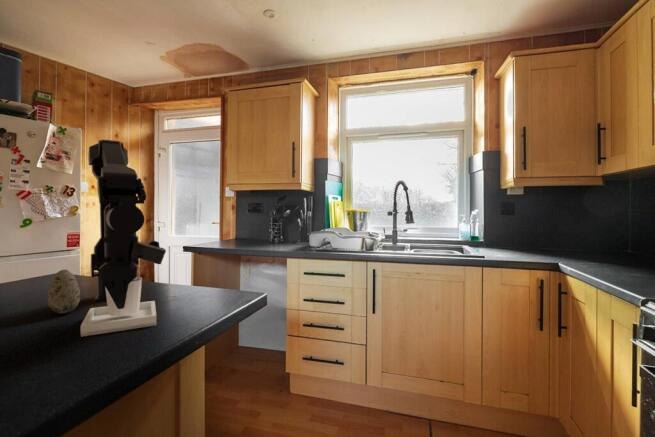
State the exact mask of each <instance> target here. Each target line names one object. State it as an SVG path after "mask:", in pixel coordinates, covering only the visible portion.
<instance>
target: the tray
mask: <svg viewBox="0 0 655 437" xmlns="http://www.w3.org/2000/svg"><path fill="white" fill-rule="evenodd" d="M156 310H157V309H156V302H155V300H151V301H150V300H149V301H142V302H141V301H140V306H139V311H138V312H136V313H133V314H129V315H123V316H111V315H109V313H108V305H106V306H98V307H91V308H89V310H88V312H87V314H86V315H85V318H84V319H83V321H82V323H81V325H80V337H88V336H95V335H101V334H108V333H114V332H120V331H127V330H134V329H139V328H147V327H153V326H157V311H156Z"/></svg>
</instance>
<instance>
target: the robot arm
mask: <svg viewBox="0 0 655 437" xmlns="http://www.w3.org/2000/svg"><path fill="white" fill-rule="evenodd" d="M87 153H88V155H87V156H88V160H87V161H88V166H91V173H92V175H93V176H94V178H95V179H96V180H97V181H96V182H97V196H98V197H97V198H98V203H99V223H100V224H99V226H100V227H99V228H100V238H99V239H98V240H97V242H96V243H95V245H94V247H93V253H91V254H90V276H91V278H96V280H97V282H96V283H97V286H96V287H97V294H96V295H95V298H94V302H97V301H107V297H106V289H107V290H108V292H109V294H110V296H111V297H112V299H113V301H114V303H115V305H116V307H117V308H118V309H123V308H124V306H125V301H126V295H127V290H128V285H129V283H130V282H131V281H133V280H134V279H135V278H136V277H138V269H139V265H140V264H139V263H140V260H143V261H149V262H152V263H153V264H155V265H162V261H163V260H164V257H165V254H166V252H167V250H166V248H163V247H160V242H159V241H157V240H151V241H150V242H148V243H146V242H142V241H139V236H137V232H138V231H139V230H141V229H142V228H143V226H144V223H145V215H144V213H143V211H142V210H141V208H139V207H138V206H137V205H138V204H140V205H142V204H143V205H144V204H145V202H146V201H147V194H146V190H145V185H144V183H143V181H142V179H141V178H140V177H139V176H138V173H137V172H136V170H135V169H133V168H131V167H129V166H128V164H129V158H128V156H129V154H128V153H129V152H128V149H127V148H125V147H124V143H123V142H122V141H120V140H110V139H99V140H98V142H97V143H96V144H93V145H90V146H89V147H88V152H87ZM105 287H106V289H105Z"/></svg>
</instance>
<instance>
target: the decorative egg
mask: <svg viewBox="0 0 655 437" xmlns="http://www.w3.org/2000/svg"><path fill="white" fill-rule="evenodd" d="M46 297H47V298H46V299H47V306H49V309H50V310H52V311H53V312H55V313H57V314H67V313H70V312H72V311H73V310H74V309H76V308H77V307H78V305H79V303H80V301H81V288H80V285H79V283H78V281H77V278H76V276H75V275H74V274H73V273H72V272H71V271H70V270H68V269H61V270H59V271H57V272H56V273H55V274H54V276H53V277H52V280H51V281H50V284H49V287H48V291H47V296H46Z"/></svg>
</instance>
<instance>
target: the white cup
mask: <svg viewBox="0 0 655 437" xmlns="http://www.w3.org/2000/svg"><path fill="white" fill-rule="evenodd" d="M142 283H143V277H140V276H137V277H136V278H135V279H134V280H133V281H131V282H130V283H129V285H128V290H127V295H126V301H125V306H124V308H123V309H118V308H117V307H116V305H115V303H114V301H113V299H112V297H111V296H110V294H109V292H108V290H107V289H106V287H105V289H106V297H107V300H106V306H108V313H109V315H111V316H123V315H129V314H133V313H136V312H138V311H139V306H140V302H141V295H142Z"/></svg>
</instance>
